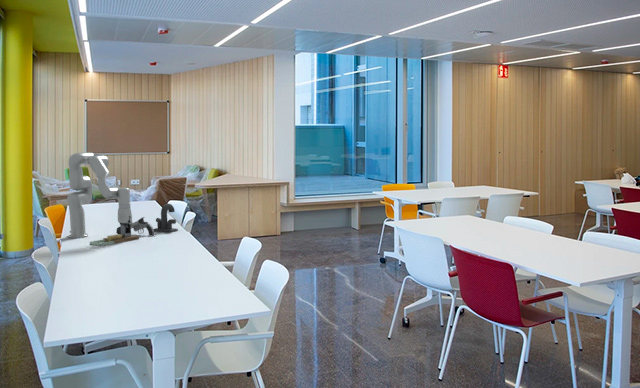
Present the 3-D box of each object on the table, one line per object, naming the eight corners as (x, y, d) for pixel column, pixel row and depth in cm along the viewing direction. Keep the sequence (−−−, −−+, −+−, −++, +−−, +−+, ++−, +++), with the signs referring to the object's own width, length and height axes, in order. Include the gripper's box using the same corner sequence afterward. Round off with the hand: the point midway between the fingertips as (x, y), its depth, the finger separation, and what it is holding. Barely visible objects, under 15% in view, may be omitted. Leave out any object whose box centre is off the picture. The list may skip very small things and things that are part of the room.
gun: (153, 235, 391) (144, 215, 391) (122, 248, 398) (113, 229, 397) (156, 233, 396) (148, 214, 396) (126, 247, 403) (117, 227, 403)
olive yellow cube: (113, 240, 373) (113, 235, 373) (118, 240, 377) (118, 234, 376) (117, 241, 371) (116, 235, 371) (122, 240, 374) (122, 234, 374)
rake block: (121, 237, 378) (120, 221, 377) (127, 236, 382) (126, 220, 381) (125, 238, 376) (124, 222, 374) (131, 237, 380) (130, 221, 378)
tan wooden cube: (107, 242, 370) (107, 236, 369) (113, 241, 373) (112, 235, 373) (111, 242, 368) (111, 236, 367) (116, 241, 371) (116, 235, 370)
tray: (90, 244, 363) (89, 241, 363) (104, 242, 372) (104, 239, 372) (100, 246, 357) (99, 243, 357) (114, 243, 366) (114, 240, 365)
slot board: (103, 241, 373) (103, 238, 373) (126, 237, 387) (126, 234, 387) (115, 244, 365) (115, 240, 364) (139, 239, 379) (139, 236, 379)
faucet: (184, 229, 419) (183, 202, 417) (171, 232, 404) (170, 205, 402) (164, 228, 426) (163, 202, 423) (151, 231, 411) (149, 204, 409)
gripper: (112, 206, 378) (113, 232, 380) (127, 207, 369) (128, 234, 371) (121, 204, 385) (123, 230, 386) (137, 206, 375) (138, 233, 377)
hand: (126, 232), depth 379 cm, fingers closed on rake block, 4 cm apart
